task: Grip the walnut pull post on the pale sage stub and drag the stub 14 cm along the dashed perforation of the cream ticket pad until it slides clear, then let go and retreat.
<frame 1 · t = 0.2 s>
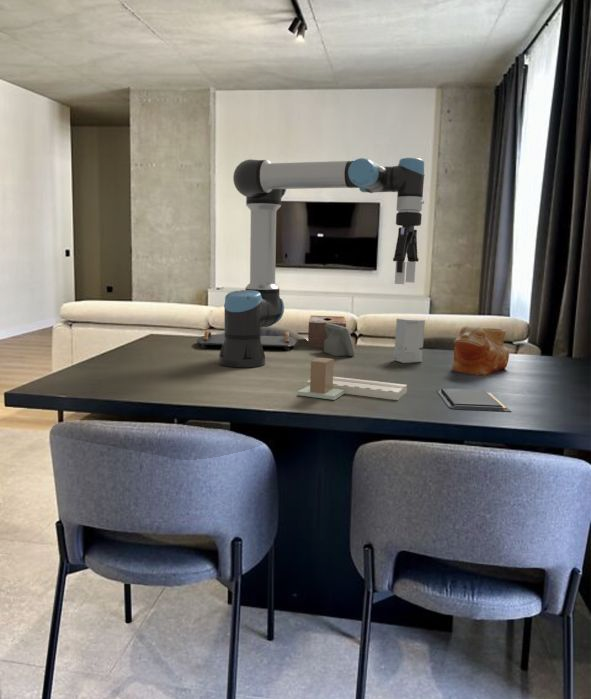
hand: (404, 283, 180), 28 cm above the table, tool pointing down, fingers open, 13 cm apart
wallet: (471, 404, 150), on the table
tissue box cover: (326, 344, 241), on the table
stub: (321, 377, 151), point 5 cm above the table, slide at 0.0 cm
digital clock: (339, 354, 216), on the table
skincare box: (407, 361, 204), on the table
ticket pad: (356, 390, 158), on the table
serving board: (247, 347, 229), on the table
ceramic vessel: (478, 370, 192), on the table
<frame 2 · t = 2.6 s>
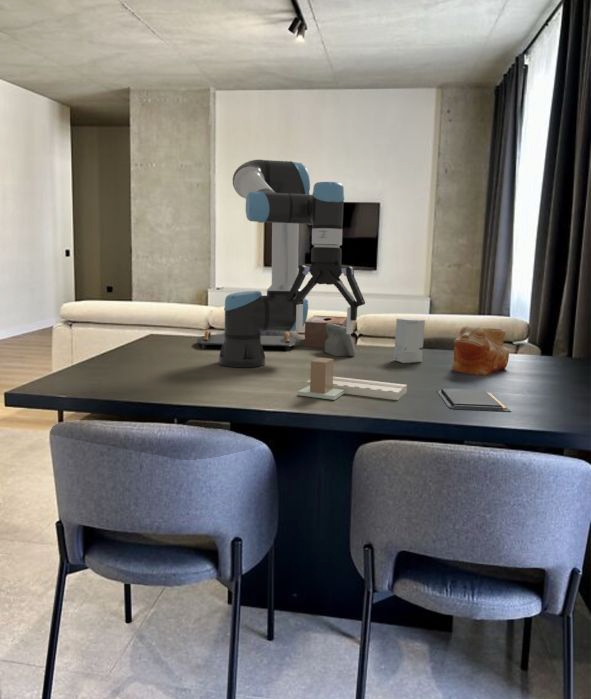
hand: (323, 331, 149), 17 cm above the table, tool pointing down, fingers open, 13 cm apart
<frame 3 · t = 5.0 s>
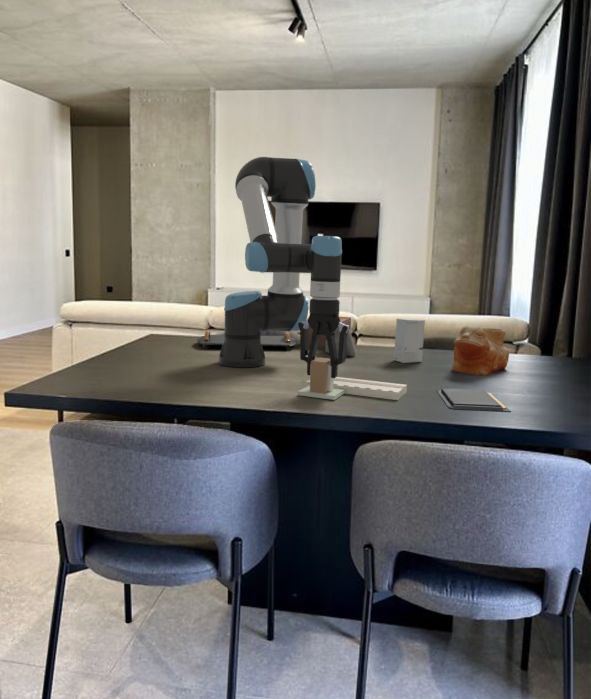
hand: (321, 388, 152), 2 cm above the table, tool pointing down, fingers closed on stub, 4 cm apart
stub: (321, 377, 151), point 5 cm above the table, slide at 0.0 cm, touching gripper
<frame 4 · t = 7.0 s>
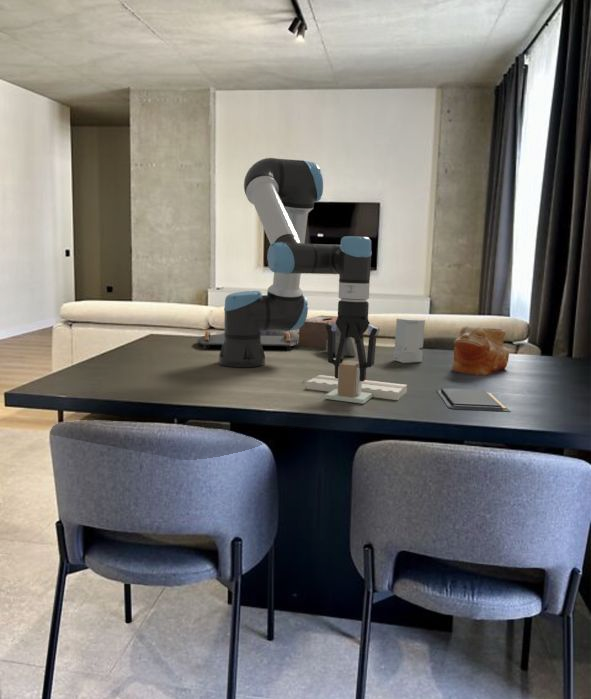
hand: (349, 392, 149), 2 cm above the table, tool pointing down, fingers closed on stub, 4 cm apart
stub: (349, 380, 148), point 5 cm above the table, slide at 7.6 cm, touching gripper
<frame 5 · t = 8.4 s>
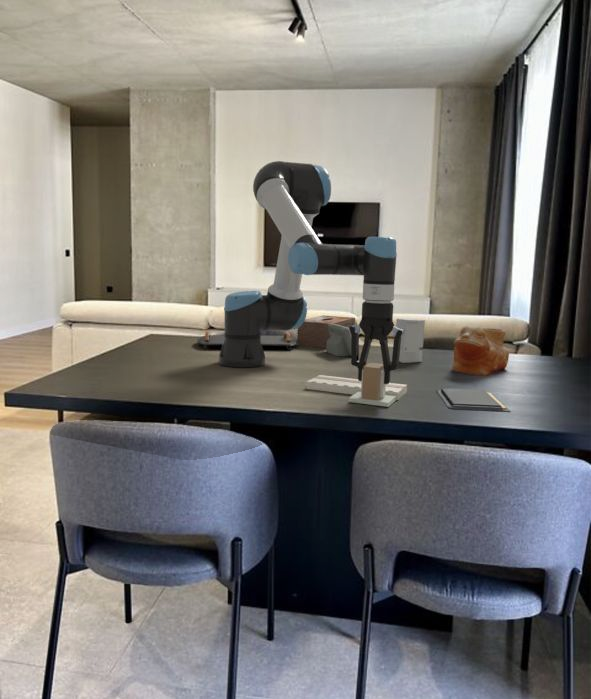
hand: (373, 395, 146), 2 cm above the table, tool pointing down, fingers closed on stub, 4 cm apart
stub: (373, 383, 146), point 5 cm above the table, slide at 13.7 cm, touching gripper
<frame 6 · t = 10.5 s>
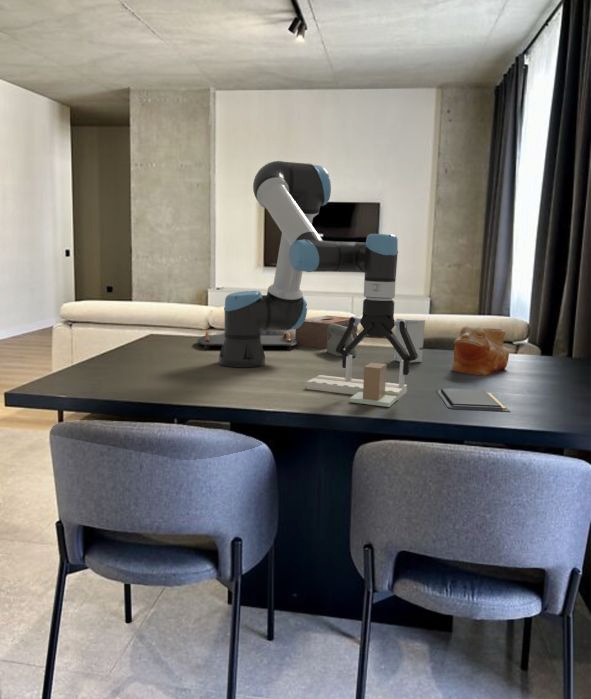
hand: (374, 384, 146), 4 cm above the table, tool pointing down, fingers open, 13 cm apart
stub: (374, 383, 146), point 5 cm above the table, slide at 14.0 cm
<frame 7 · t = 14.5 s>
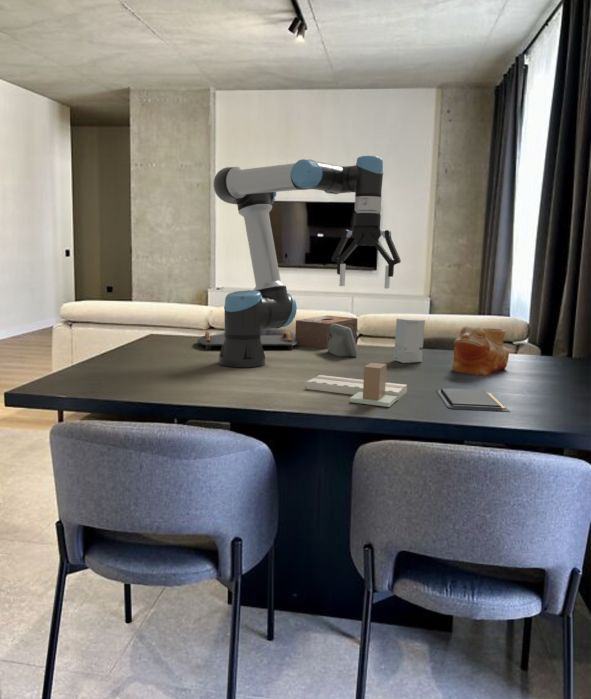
hand: (364, 287, 172), 27 cm above the table, tool pointing down, fingers open, 13 cm apart
at the end: stub slide at 14.0 cm; the gripper is holding nothing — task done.
